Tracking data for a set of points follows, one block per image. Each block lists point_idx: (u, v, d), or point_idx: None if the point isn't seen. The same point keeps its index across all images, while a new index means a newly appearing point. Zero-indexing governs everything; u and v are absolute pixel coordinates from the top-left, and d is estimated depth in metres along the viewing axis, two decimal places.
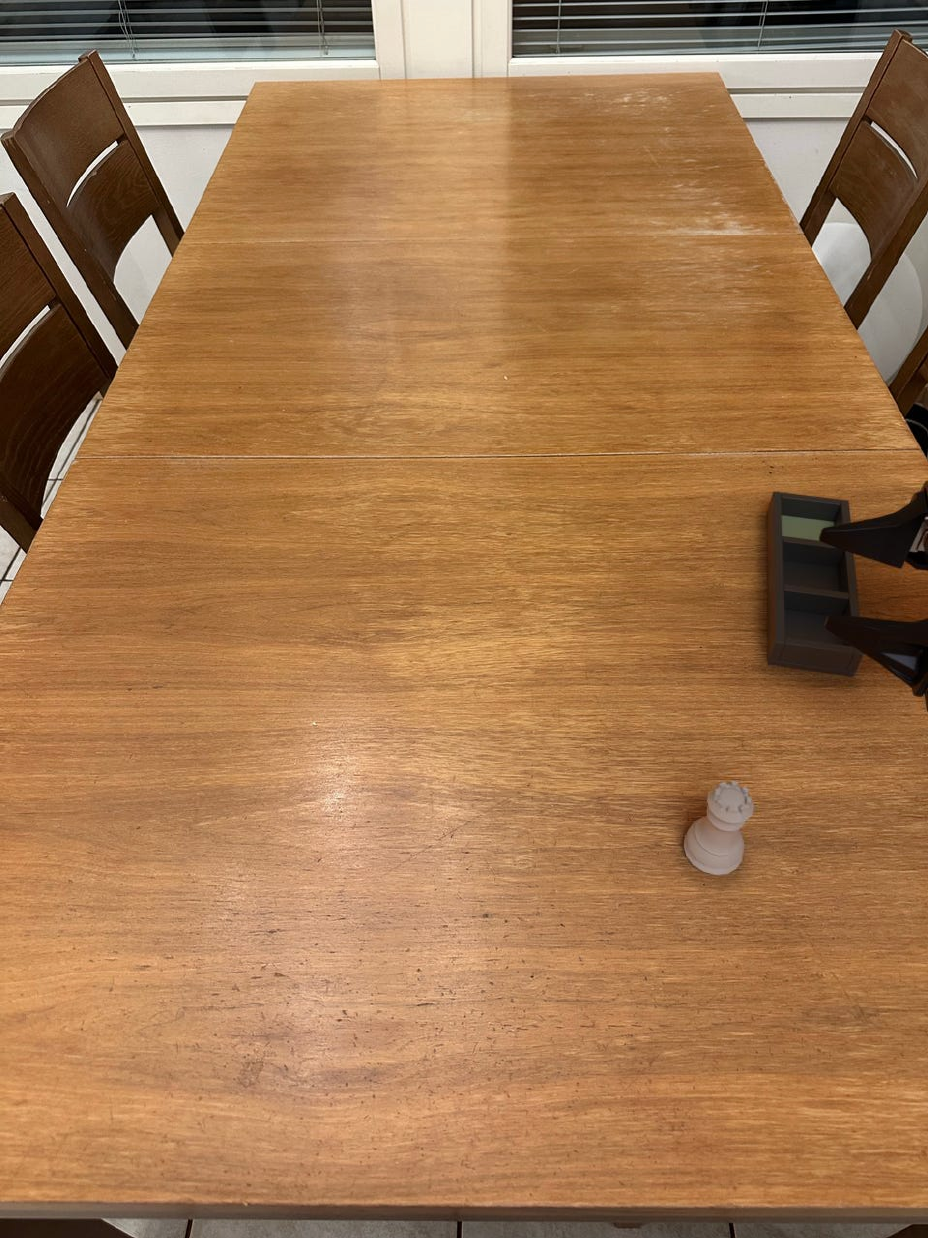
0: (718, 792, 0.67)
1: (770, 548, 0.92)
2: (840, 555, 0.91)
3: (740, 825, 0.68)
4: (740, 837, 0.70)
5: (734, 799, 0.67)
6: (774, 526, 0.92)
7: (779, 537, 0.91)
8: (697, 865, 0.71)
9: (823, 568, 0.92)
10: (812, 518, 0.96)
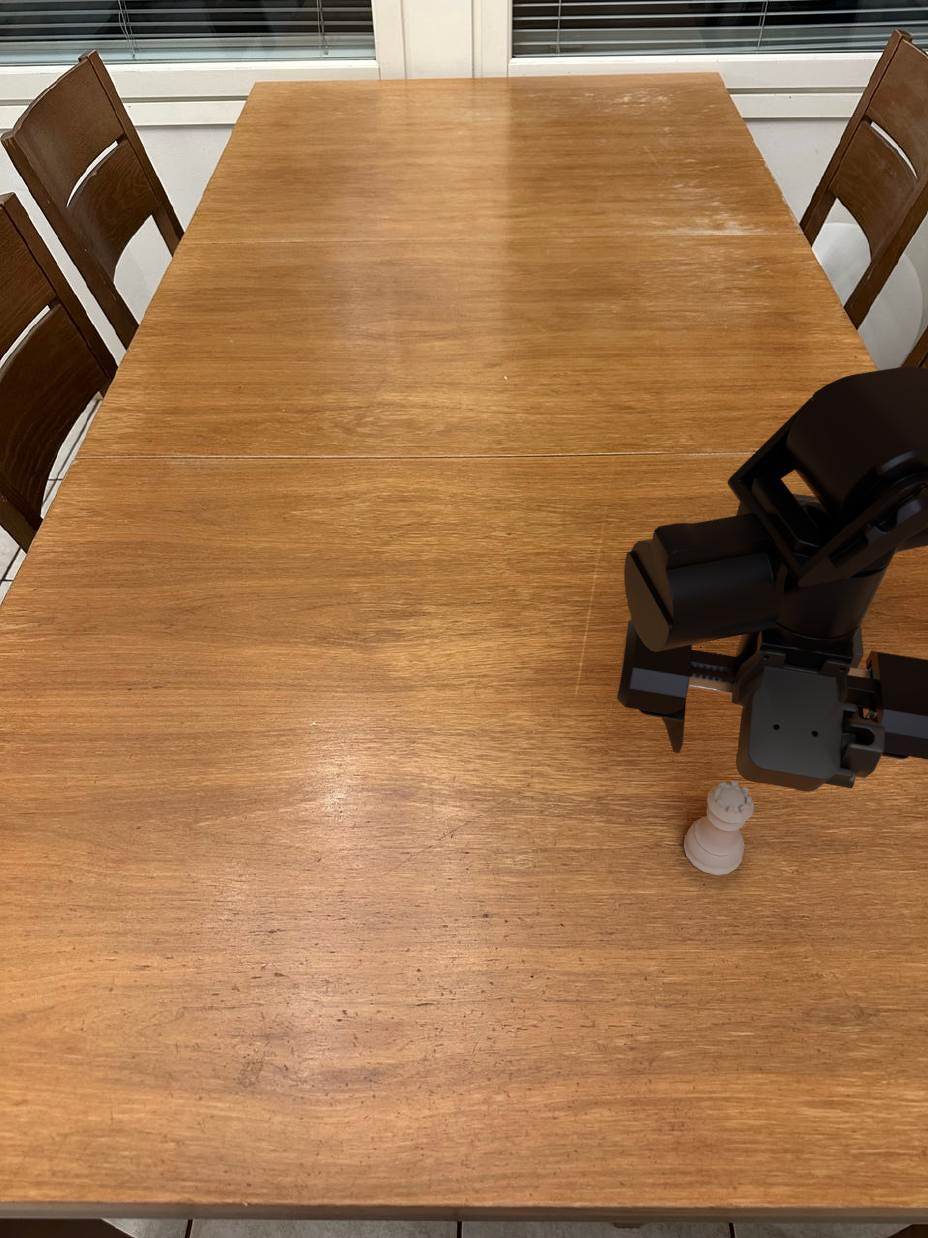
0: (718, 792, 0.67)
1: None
2: None
3: (740, 825, 0.68)
4: (740, 837, 0.70)
5: (734, 799, 0.67)
6: None
7: None
8: (697, 865, 0.71)
9: None
10: None
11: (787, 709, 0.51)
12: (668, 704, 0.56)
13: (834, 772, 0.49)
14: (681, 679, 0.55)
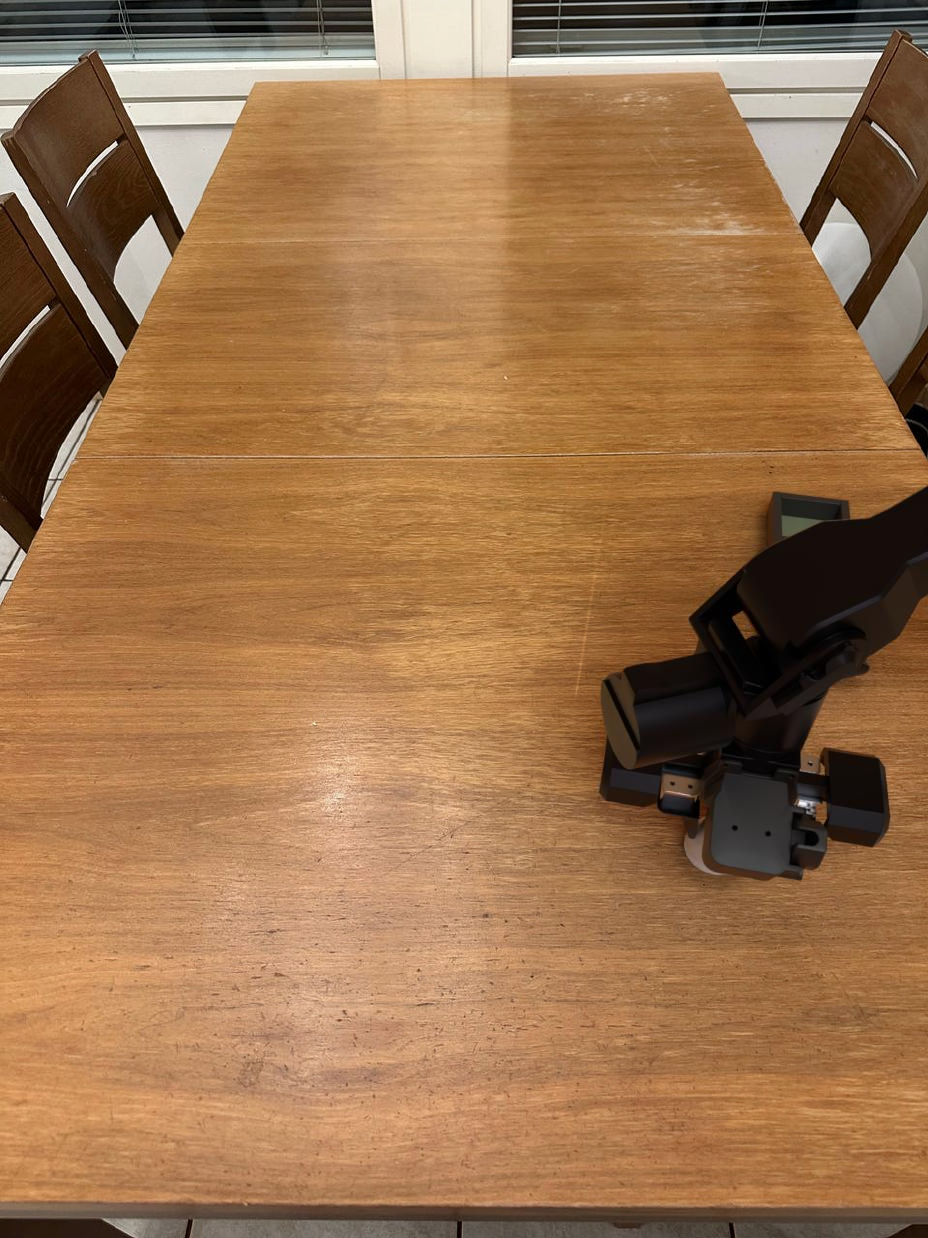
0: None
1: None
2: None
3: None
4: None
5: None
6: (774, 526, 0.92)
7: (779, 537, 0.91)
8: (697, 865, 0.71)
9: None
10: (812, 518, 0.96)
11: (744, 811, 0.58)
12: (643, 799, 0.64)
13: (784, 868, 0.57)
14: (654, 778, 0.63)
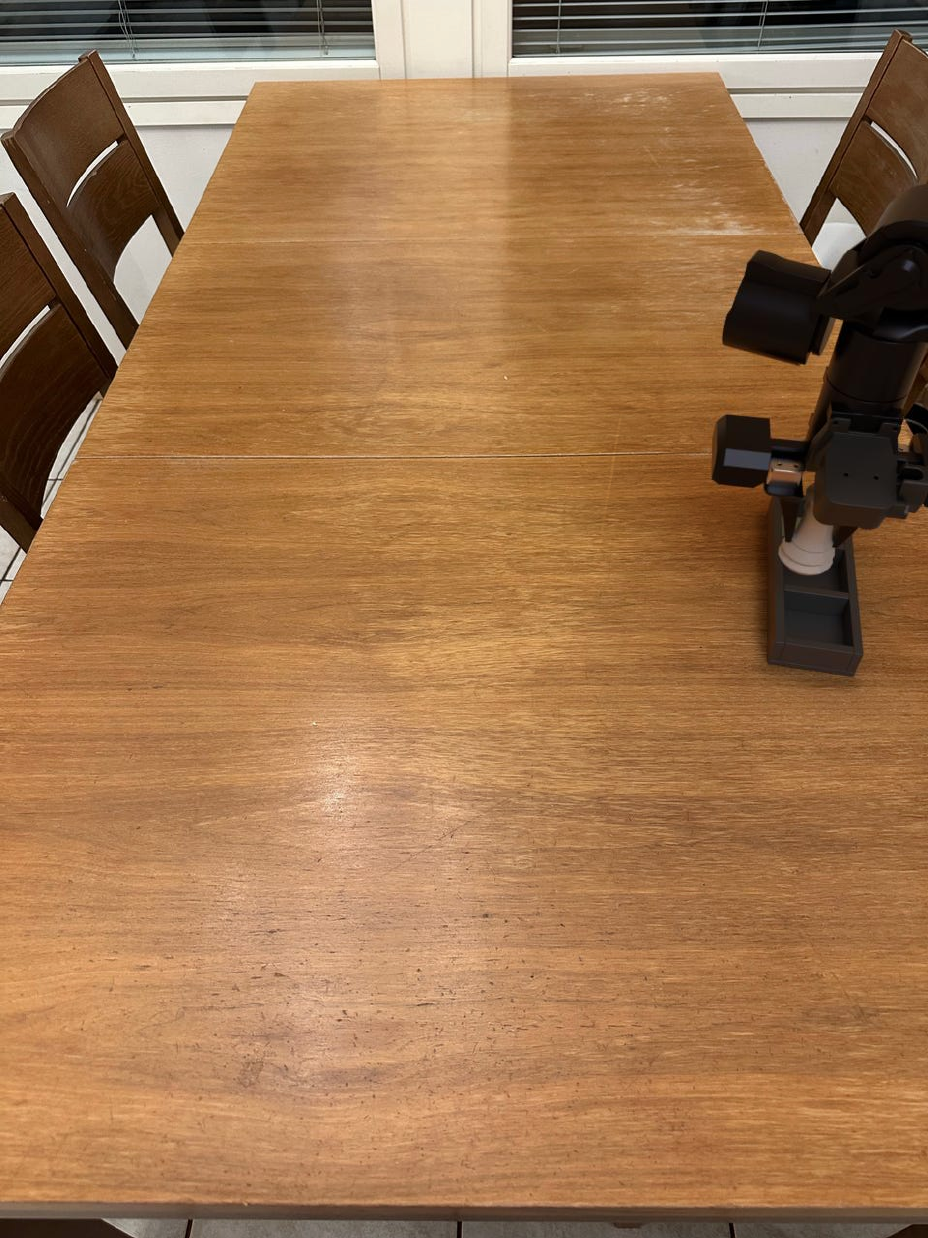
0: None
1: (770, 548, 0.92)
2: (840, 555, 0.91)
3: None
4: (832, 538, 0.77)
5: None
6: (774, 526, 0.92)
7: (779, 537, 0.91)
8: (793, 567, 0.78)
9: None
10: None
11: (853, 461, 0.65)
12: (754, 478, 0.71)
13: (892, 503, 0.64)
14: (764, 455, 0.70)
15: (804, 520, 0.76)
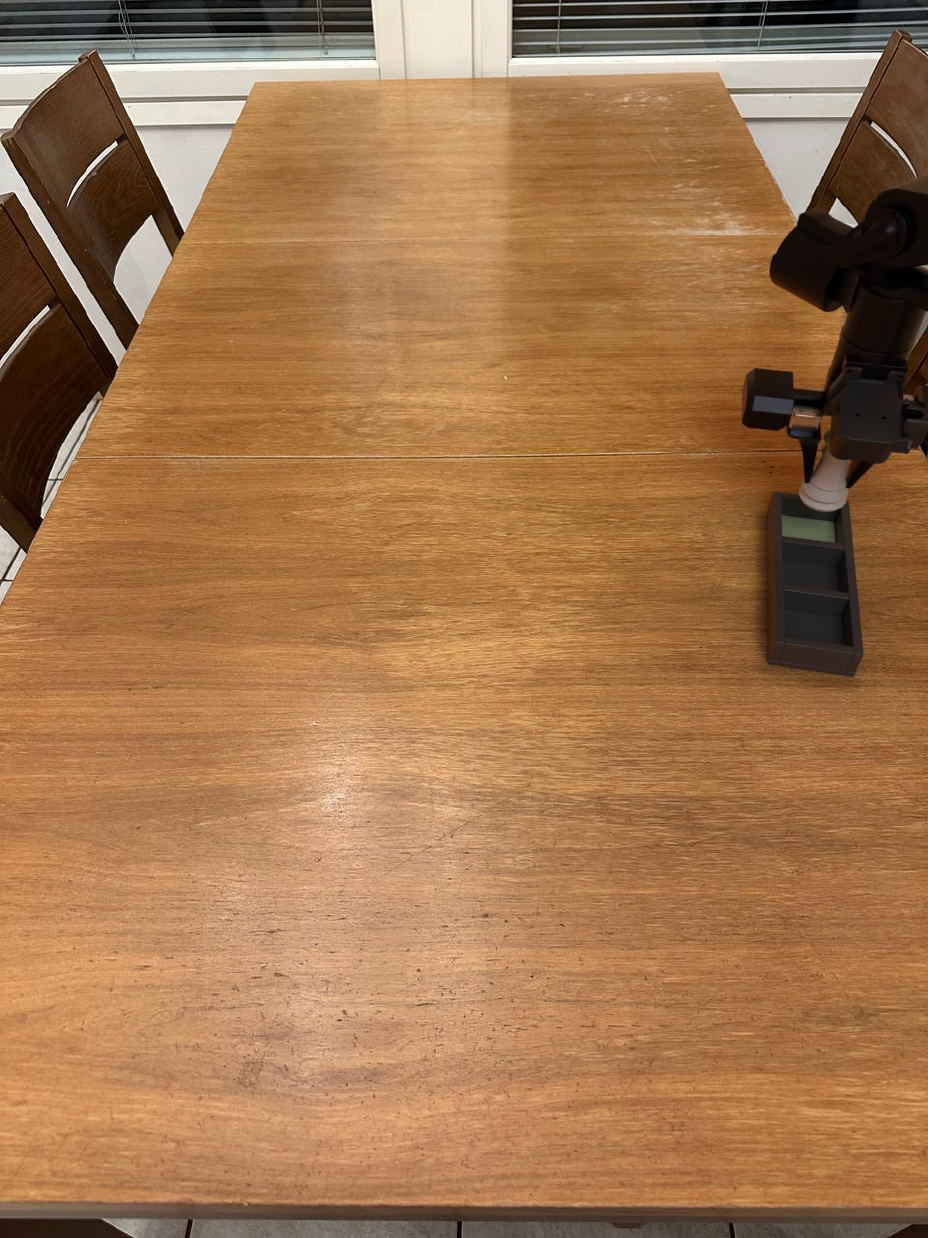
0: None
1: (770, 548, 0.92)
2: (840, 555, 0.91)
3: None
4: (846, 479, 0.89)
5: None
6: (774, 526, 0.92)
7: (779, 537, 0.91)
8: (811, 504, 0.89)
9: (823, 568, 0.92)
10: (812, 518, 0.96)
11: (864, 404, 0.77)
12: (778, 421, 0.82)
13: (897, 439, 0.75)
14: (788, 401, 0.81)
15: (821, 462, 0.87)
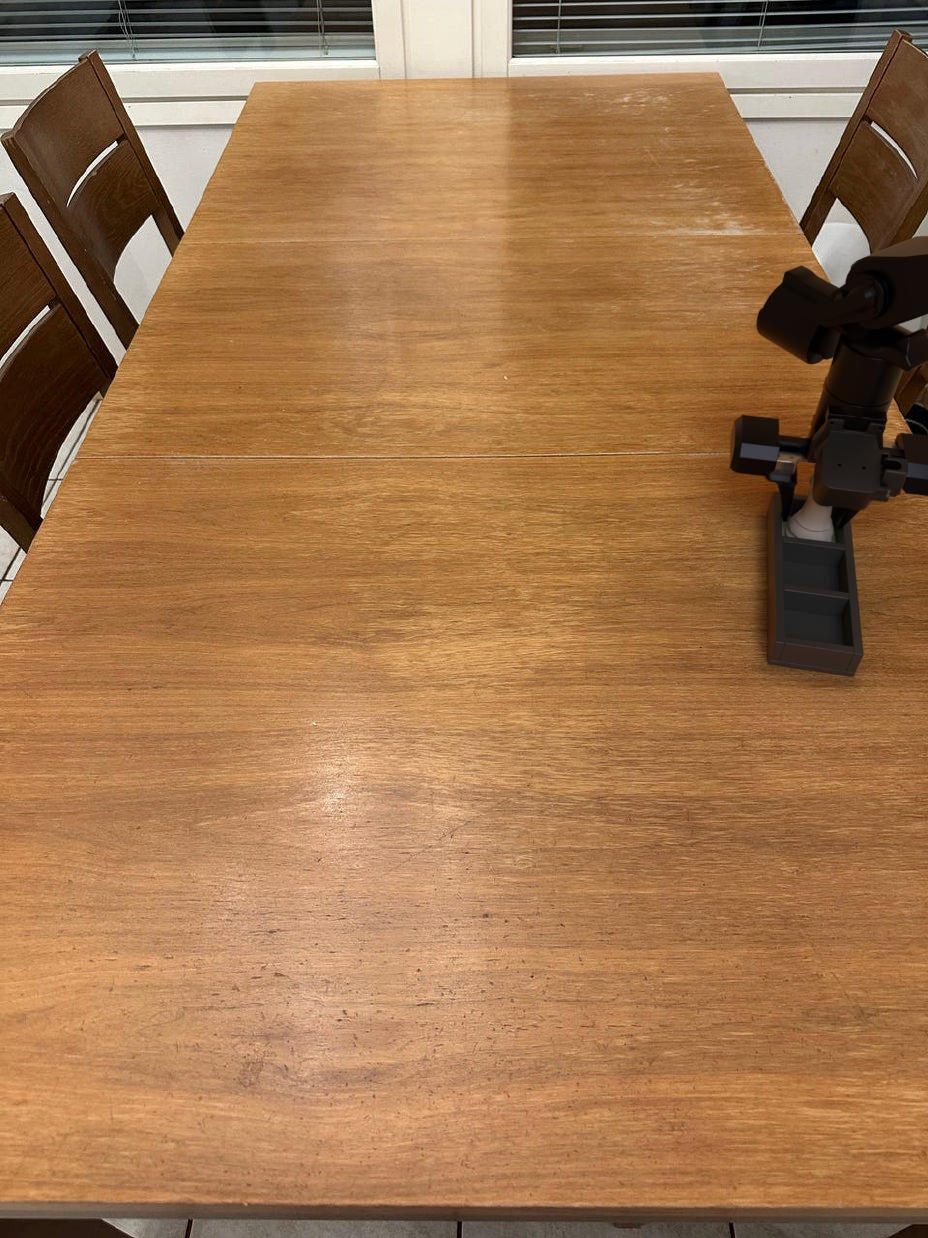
0: None
1: (770, 548, 0.92)
2: (840, 555, 0.91)
3: None
4: (831, 519, 0.92)
5: None
6: (774, 526, 0.92)
7: (779, 537, 0.91)
8: None
9: (823, 568, 0.92)
10: None
11: (846, 454, 0.81)
12: (765, 467, 0.86)
13: (876, 488, 0.79)
14: (773, 448, 0.85)
15: (807, 504, 0.91)
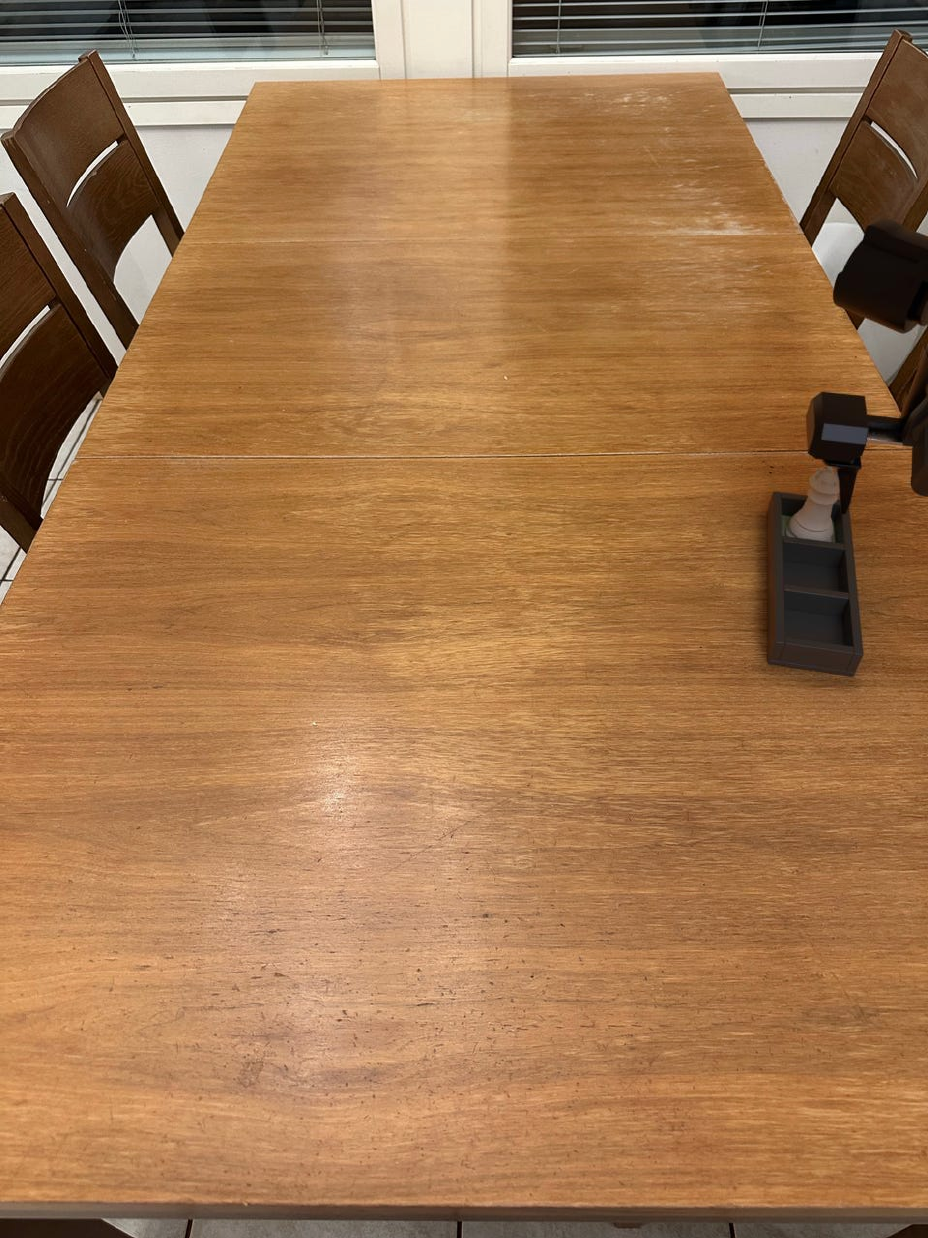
0: (818, 473, 0.89)
1: (770, 548, 0.92)
2: (840, 555, 0.91)
3: (833, 500, 0.90)
4: (831, 519, 0.92)
5: (830, 478, 0.89)
6: (774, 526, 0.92)
7: (779, 537, 0.91)
8: None
9: (823, 568, 0.92)
10: None
11: None
12: (850, 452, 0.73)
13: None
14: (862, 429, 0.72)
15: (807, 504, 0.91)
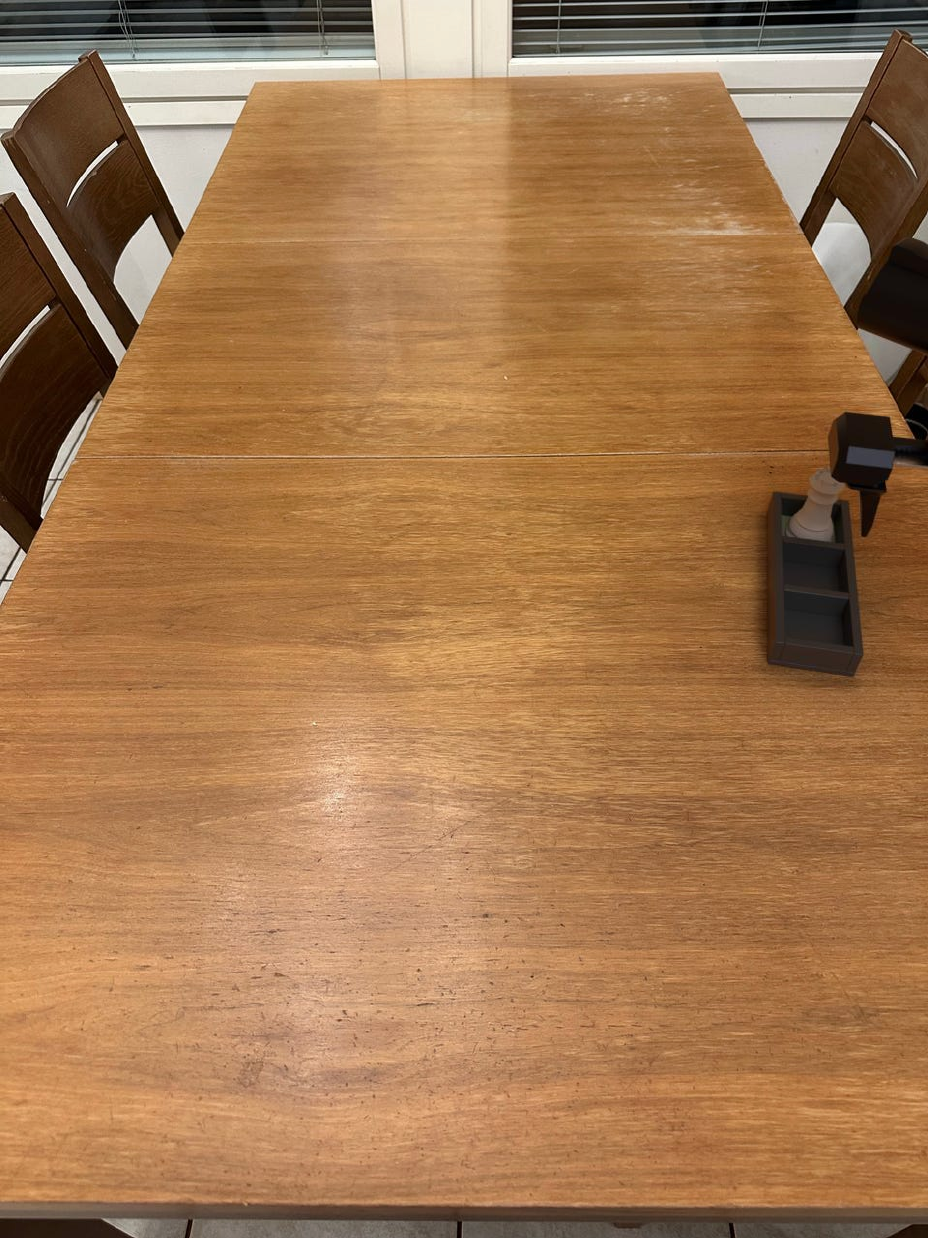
0: (818, 472, 0.89)
1: (770, 548, 0.92)
2: (840, 555, 0.91)
3: (833, 500, 0.90)
4: (831, 519, 0.92)
5: (830, 478, 0.89)
6: (774, 526, 0.92)
7: (779, 537, 0.91)
8: None
9: (823, 568, 0.92)
10: None
11: None
12: (876, 476, 0.71)
13: None
14: (888, 453, 0.70)
15: (807, 504, 0.91)
